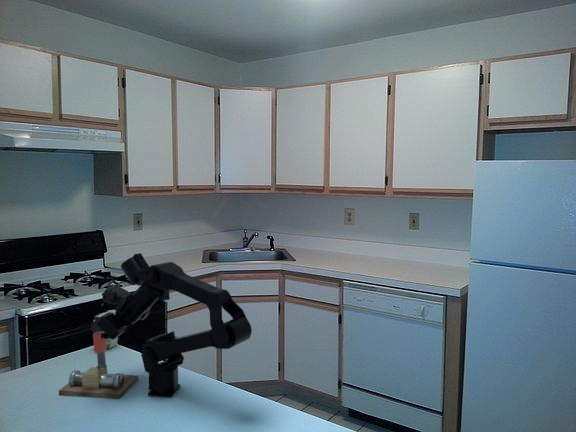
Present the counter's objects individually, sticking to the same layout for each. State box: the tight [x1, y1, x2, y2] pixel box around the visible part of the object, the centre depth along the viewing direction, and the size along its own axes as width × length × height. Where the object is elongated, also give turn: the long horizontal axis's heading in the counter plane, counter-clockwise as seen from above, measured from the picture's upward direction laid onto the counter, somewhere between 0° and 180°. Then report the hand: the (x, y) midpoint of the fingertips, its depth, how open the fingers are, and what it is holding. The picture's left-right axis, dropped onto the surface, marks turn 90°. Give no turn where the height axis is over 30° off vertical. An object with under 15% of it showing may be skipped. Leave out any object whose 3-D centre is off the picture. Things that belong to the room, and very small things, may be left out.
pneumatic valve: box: [90, 309, 119, 349], centre depth 147 cm, size 6×12×12 cm, turn 161°
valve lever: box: [92, 331, 108, 369], centre depth 119 cm, size 2×2×11 cm
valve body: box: [68, 366, 125, 390], centre depth 116 cm, size 13×4×4 cm, turn 84°
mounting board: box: [58, 371, 140, 400], centre depth 118 cm, size 16×11×1 cm
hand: (104, 337), depth 120 cm, fingers closed, pressing on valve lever
